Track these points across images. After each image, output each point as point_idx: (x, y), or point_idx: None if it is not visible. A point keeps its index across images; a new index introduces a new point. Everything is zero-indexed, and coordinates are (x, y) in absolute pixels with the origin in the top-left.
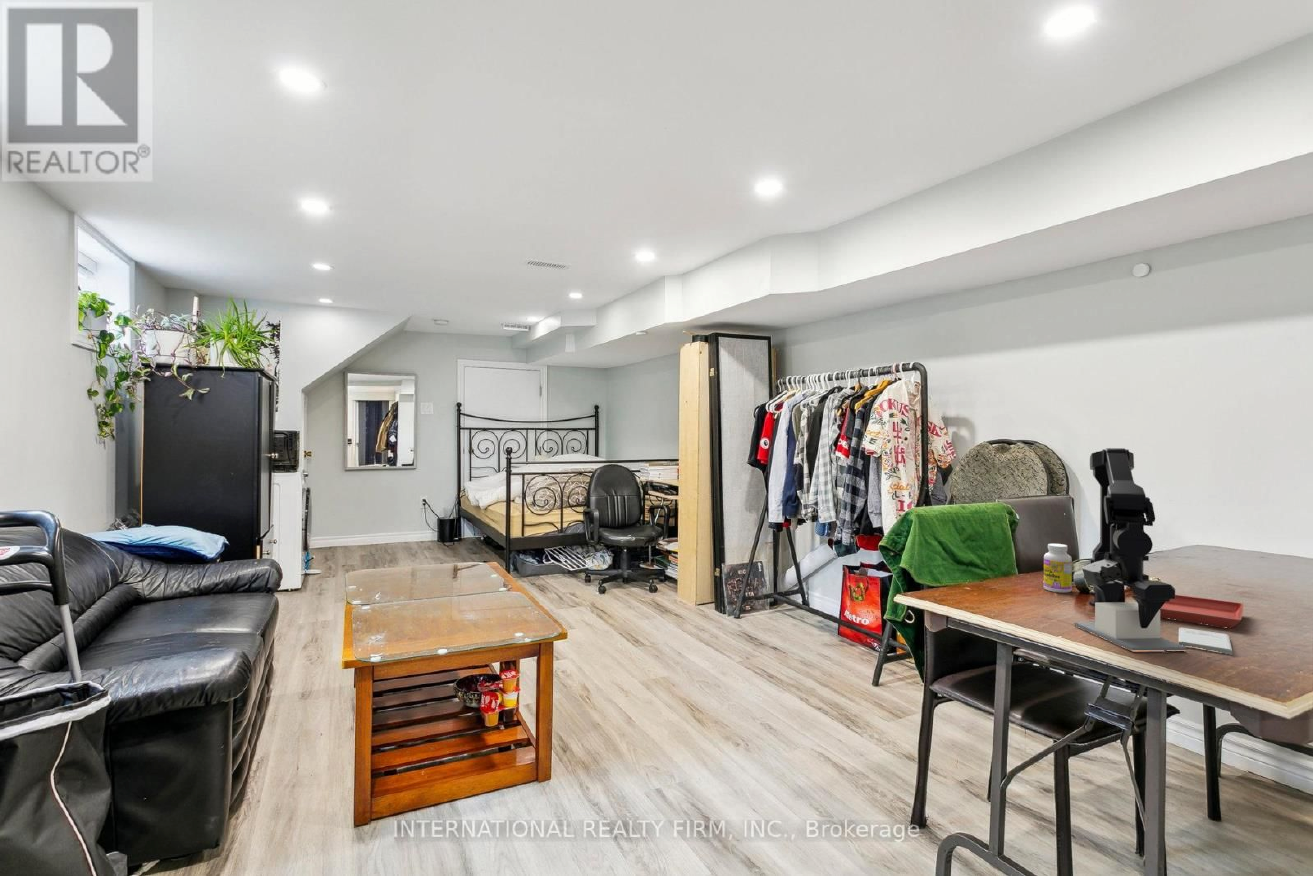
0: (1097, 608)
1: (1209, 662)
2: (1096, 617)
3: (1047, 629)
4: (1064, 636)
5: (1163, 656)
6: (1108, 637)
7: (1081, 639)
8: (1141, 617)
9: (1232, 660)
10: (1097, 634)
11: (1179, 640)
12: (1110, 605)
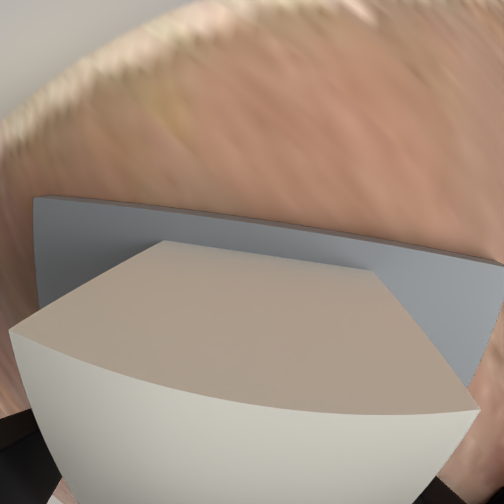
0: (406, 362)
1: (7, 374)
2: (389, 309)
3: (478, 57)
4: (355, 28)
5: (24, 293)
6: (196, 214)
7: (285, 77)
8: (15, 420)
9: None
10: (314, 230)
11: None
12: (266, 492)
